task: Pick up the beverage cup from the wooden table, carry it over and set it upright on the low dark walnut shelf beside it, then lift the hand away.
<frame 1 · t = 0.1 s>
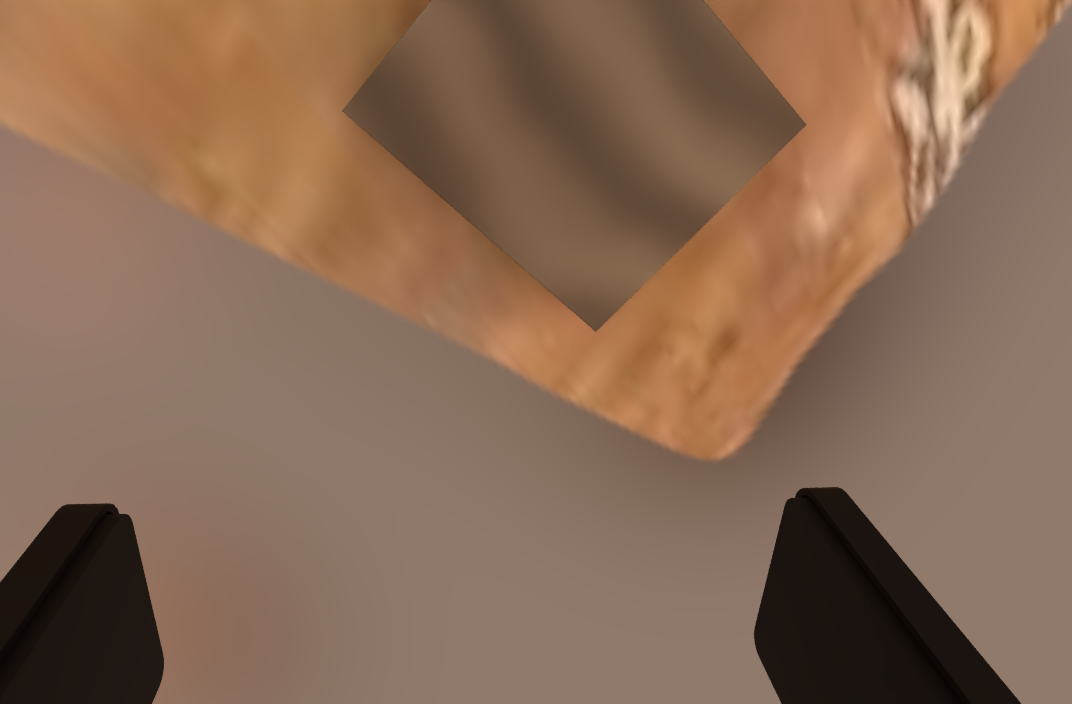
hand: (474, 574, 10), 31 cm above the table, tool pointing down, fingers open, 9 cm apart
walnut shelf: (564, 103, 38), on the table
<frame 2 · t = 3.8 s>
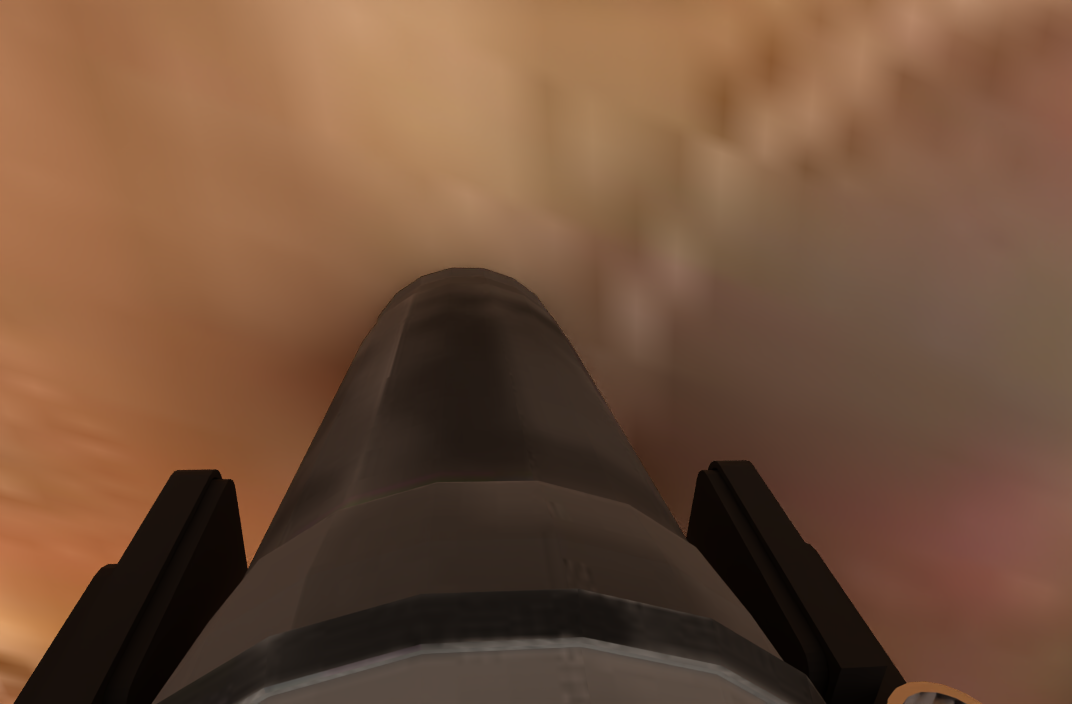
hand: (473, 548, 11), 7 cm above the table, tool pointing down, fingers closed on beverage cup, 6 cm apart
beverage cup: (465, 353, 17), on the table, touching gripper
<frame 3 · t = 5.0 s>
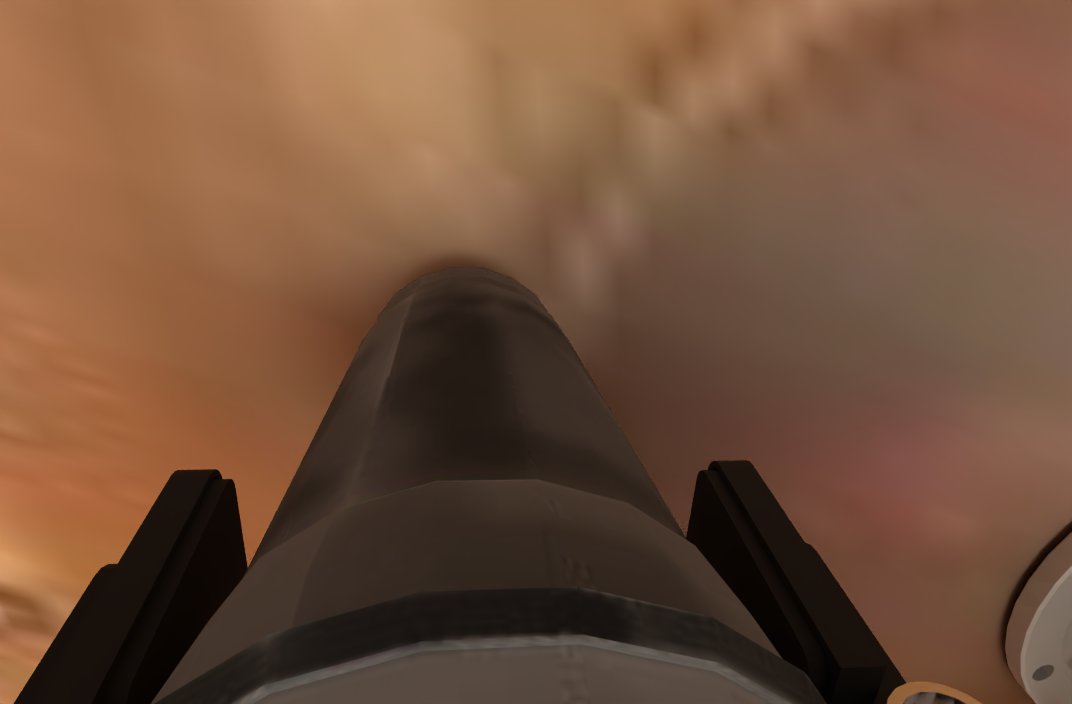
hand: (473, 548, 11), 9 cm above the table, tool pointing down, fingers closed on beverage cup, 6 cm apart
beverage cup: (465, 353, 17), point 2 cm above the table, touching gripper
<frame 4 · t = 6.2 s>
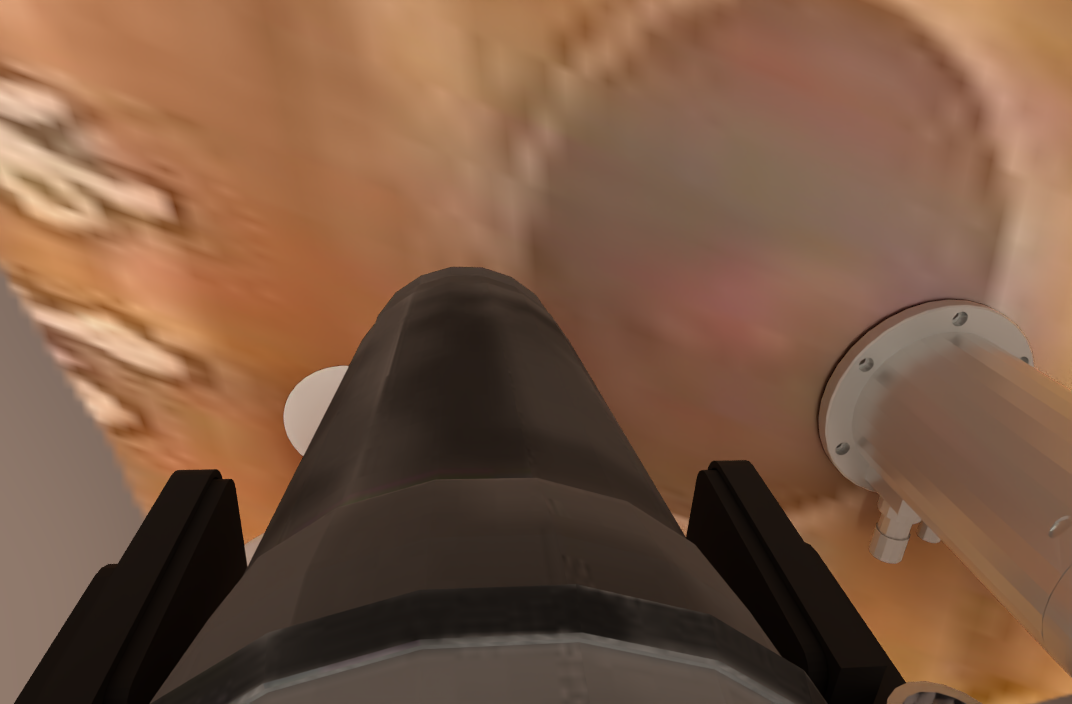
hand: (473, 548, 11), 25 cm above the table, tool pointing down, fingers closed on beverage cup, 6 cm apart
beverage cup: (464, 352, 17), point 18 cm above the table, touching gripper
champagne flute: (348, 419, 38), on the table
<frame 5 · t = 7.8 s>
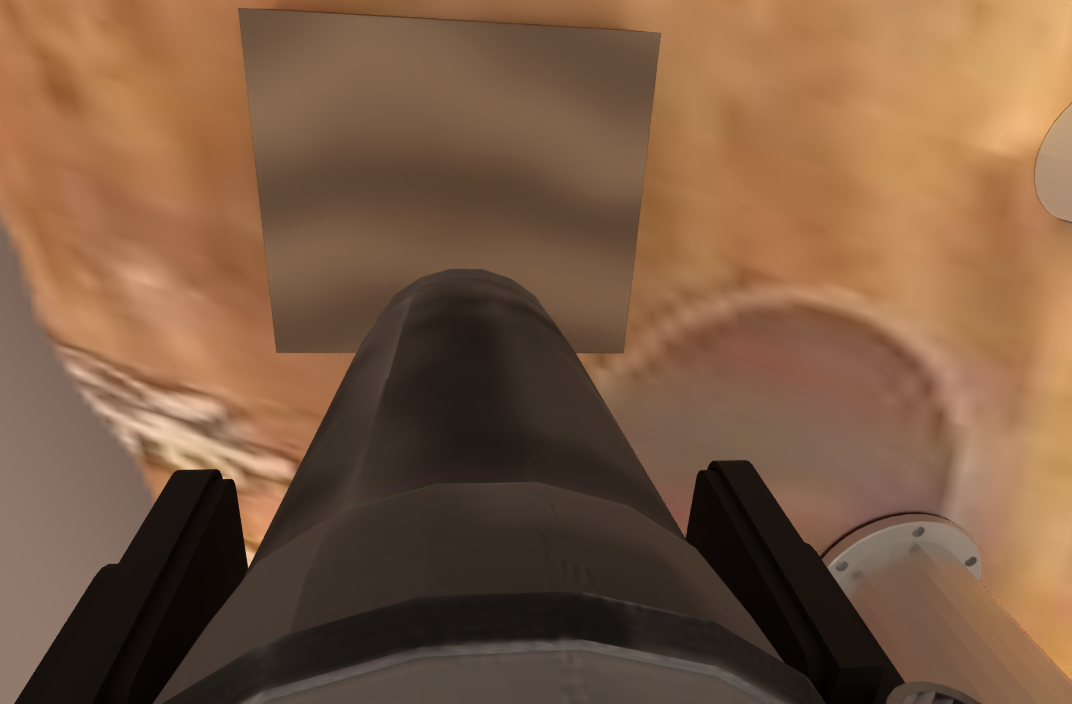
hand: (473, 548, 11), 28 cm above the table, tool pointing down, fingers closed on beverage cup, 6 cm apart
beverage cup: (464, 354, 17), point 21 cm above the table, touching gripper
walnut shelf: (454, 174, 36), on the table
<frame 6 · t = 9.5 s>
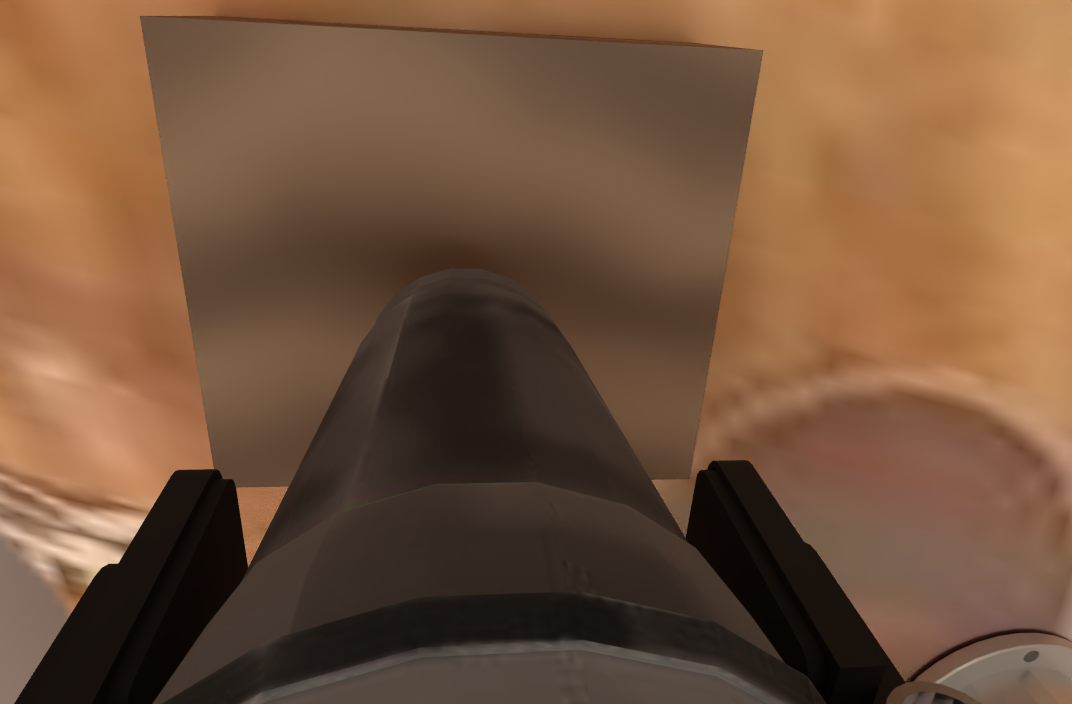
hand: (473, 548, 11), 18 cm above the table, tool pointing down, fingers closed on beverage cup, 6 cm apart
beverage cup: (464, 354, 17), point 11 cm above the table, touching gripper
walnut shelf: (462, 234, 27), on the table
when the fingers open (14 cm above the table, at t = 10.8 s): beverage cup drops 1 cm, resting on walnut shelf.
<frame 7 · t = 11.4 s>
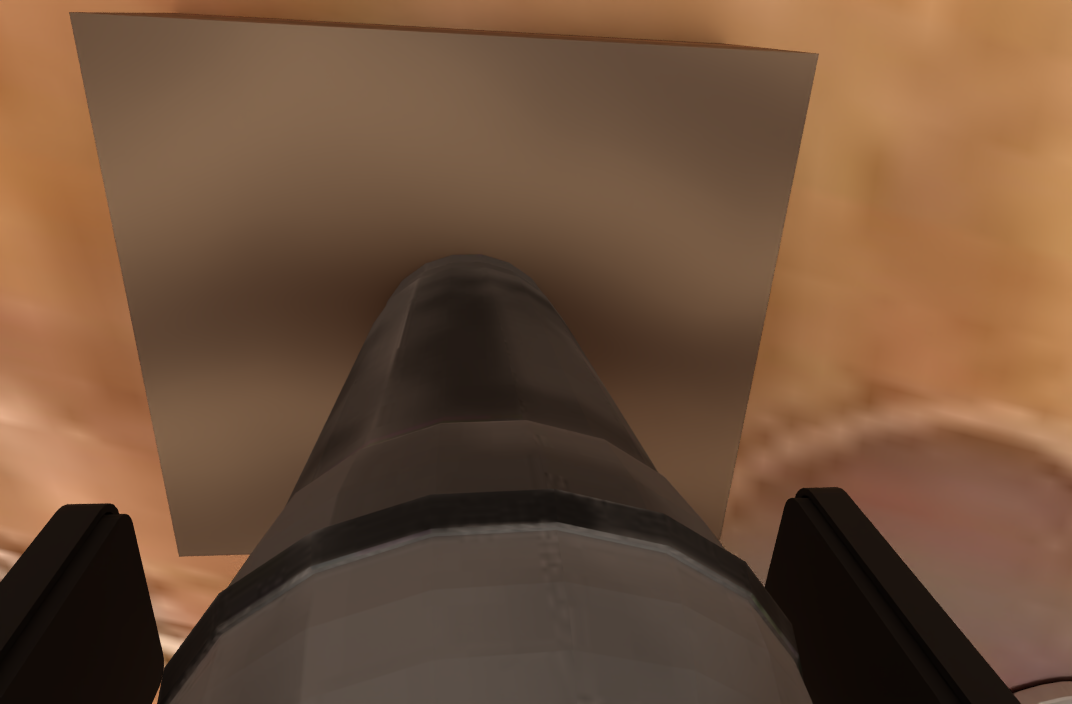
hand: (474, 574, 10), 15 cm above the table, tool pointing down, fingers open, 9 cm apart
beverage cup: (468, 334, 19), point 6 cm above the table, touching walnut shelf
walnut shelf: (460, 260, 24), on the table
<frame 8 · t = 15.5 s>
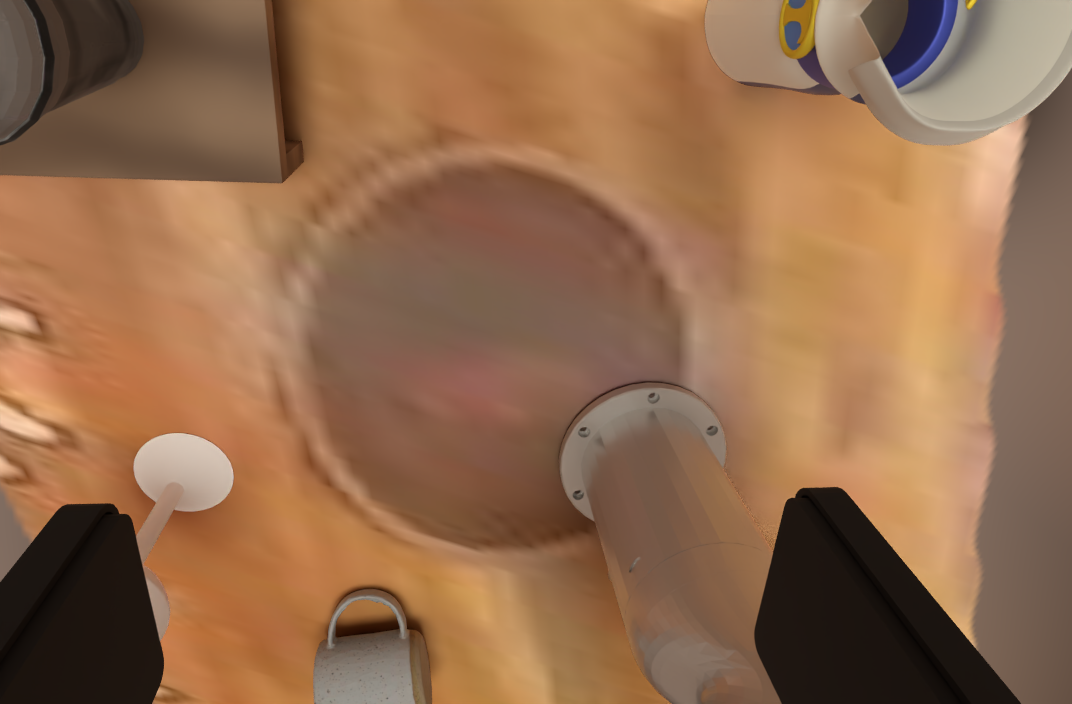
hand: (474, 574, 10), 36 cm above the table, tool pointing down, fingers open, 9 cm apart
water bottle: (764, 21, 42), on the table
beverage cup: (93, 29, 33), point 6 cm above the table, touching walnut shelf
walnut shelf: (139, 24, 38), on the table
champagne flute: (185, 471, 51), on the table
ceramic mug: (372, 632, 59), on the table
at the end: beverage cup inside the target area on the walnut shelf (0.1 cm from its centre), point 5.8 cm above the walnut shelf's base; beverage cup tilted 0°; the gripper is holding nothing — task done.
